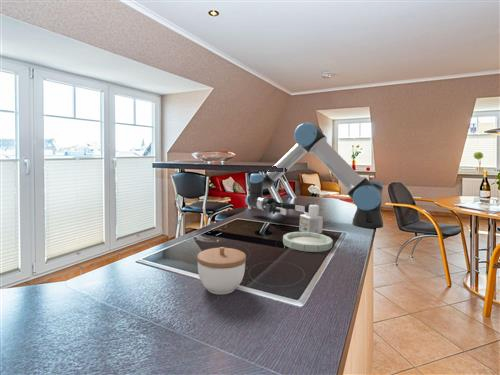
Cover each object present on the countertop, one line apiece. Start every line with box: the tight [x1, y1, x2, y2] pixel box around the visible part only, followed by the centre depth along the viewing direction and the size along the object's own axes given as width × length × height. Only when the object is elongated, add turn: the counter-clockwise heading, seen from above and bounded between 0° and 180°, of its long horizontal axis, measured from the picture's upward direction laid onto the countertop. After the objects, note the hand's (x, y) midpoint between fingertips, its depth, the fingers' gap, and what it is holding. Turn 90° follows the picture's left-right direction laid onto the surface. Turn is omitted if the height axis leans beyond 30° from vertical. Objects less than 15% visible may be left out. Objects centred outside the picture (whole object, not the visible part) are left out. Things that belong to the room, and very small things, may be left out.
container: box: [298, 203, 324, 234], centre depth 142 cm, size 8×8×13 cm
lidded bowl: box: [196, 246, 247, 296], centre depth 80 cm, size 13×13×11 cm
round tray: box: [282, 231, 334, 253], centre depth 123 cm, size 19×19×2 cm
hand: (295, 210), depth 149 cm, fingers open, 13 cm apart
